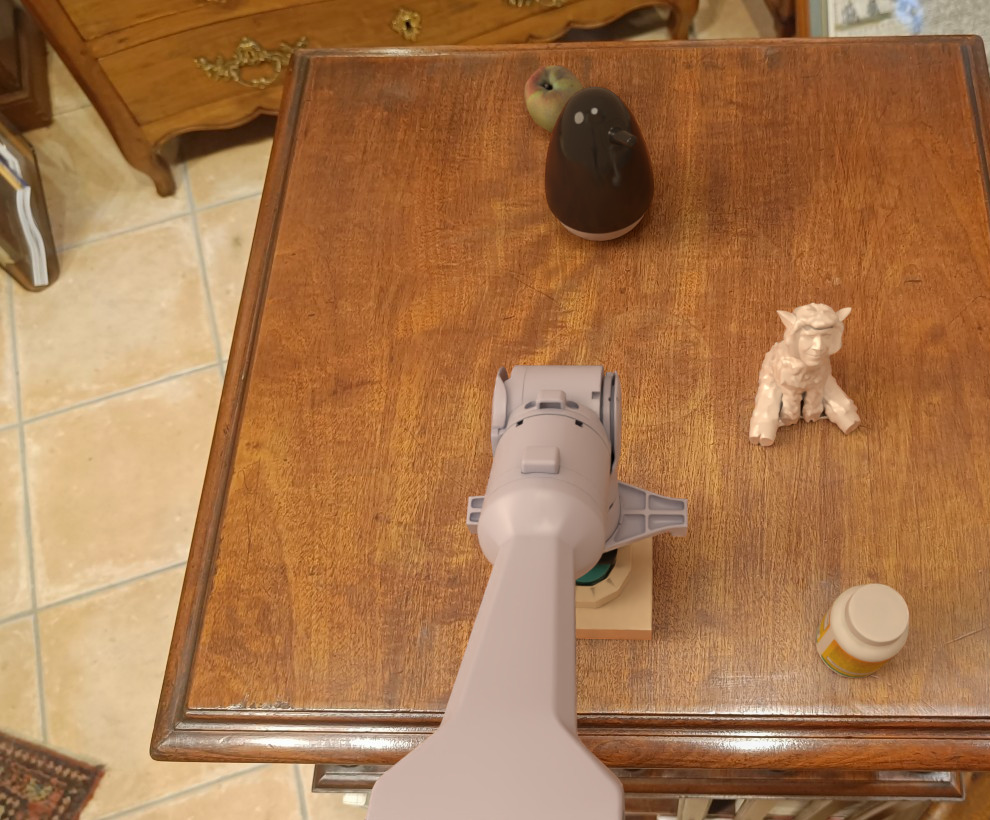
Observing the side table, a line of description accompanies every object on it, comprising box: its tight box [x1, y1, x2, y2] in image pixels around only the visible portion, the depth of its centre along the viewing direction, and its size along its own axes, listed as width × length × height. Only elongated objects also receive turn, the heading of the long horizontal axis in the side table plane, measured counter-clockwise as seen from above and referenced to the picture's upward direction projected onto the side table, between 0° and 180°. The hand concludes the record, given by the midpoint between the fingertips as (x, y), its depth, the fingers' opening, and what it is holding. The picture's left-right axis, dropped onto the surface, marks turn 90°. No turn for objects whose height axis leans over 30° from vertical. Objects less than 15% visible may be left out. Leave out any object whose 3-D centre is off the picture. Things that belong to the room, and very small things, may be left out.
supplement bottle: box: [815, 582, 910, 679], centre depth 65 cm, size 5×5×10 cm
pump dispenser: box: [544, 86, 655, 242], centre depth 83 cm, size 10×10×15 cm
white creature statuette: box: [748, 302, 862, 447], centre depth 74 cm, size 10×9×12 cm
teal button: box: [575, 563, 613, 586], centre depth 69 cm, size 4×4×2 cm
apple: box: [523, 64, 585, 134], centre depth 93 cm, size 6×8×6 cm
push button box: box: [575, 536, 654, 641], centre depth 71 cm, size 10×10×5 cm
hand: (585, 555), depth 69 cm, fingers closed, pressing on teal button
